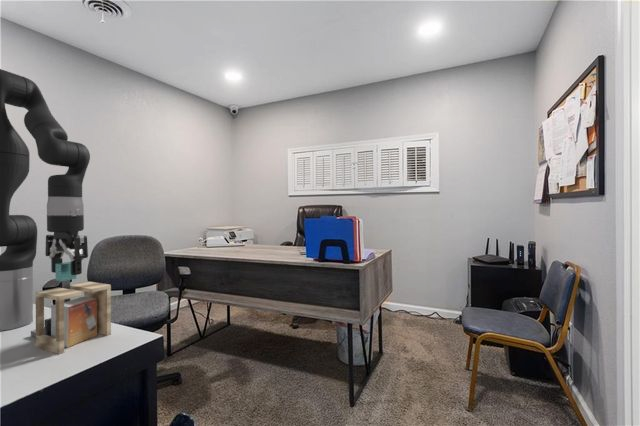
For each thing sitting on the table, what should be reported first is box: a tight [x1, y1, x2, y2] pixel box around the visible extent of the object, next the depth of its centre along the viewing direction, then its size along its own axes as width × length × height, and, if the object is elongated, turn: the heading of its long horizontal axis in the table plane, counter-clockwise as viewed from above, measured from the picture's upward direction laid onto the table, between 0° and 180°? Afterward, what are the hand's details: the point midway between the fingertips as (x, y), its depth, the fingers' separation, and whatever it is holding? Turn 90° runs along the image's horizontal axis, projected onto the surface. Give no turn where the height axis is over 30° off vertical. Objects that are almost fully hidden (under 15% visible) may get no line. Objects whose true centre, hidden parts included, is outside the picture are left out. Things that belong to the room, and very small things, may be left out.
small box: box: [50, 296, 98, 348], centre depth 77 cm, size 8×6×10 cm
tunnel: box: [35, 281, 112, 355], centre depth 77 cm, size 10×12×14 cm
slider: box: [44, 261, 77, 336], centre depth 78 cm, size 2×9×20 cm, turn 159°
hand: (66, 273), depth 78 cm, fingers open, 8 cm apart
